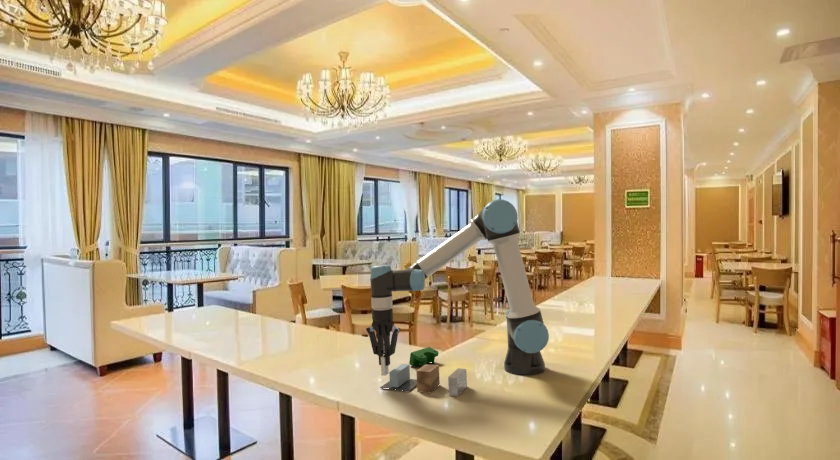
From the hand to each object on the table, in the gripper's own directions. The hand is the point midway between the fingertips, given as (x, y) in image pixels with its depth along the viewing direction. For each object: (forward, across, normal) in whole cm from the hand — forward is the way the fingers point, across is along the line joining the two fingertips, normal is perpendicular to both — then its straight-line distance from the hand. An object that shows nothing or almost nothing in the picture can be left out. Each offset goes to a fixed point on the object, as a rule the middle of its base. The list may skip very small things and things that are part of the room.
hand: (385, 374), depth 161 cm
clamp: (+4, -4, -26) cm, 26 cm away
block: (+4, -17, 0) cm, 17 cm away
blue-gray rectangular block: (+3, -6, 0) cm, 7 cm away
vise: (+3, -14, 0) cm, 14 cm away
